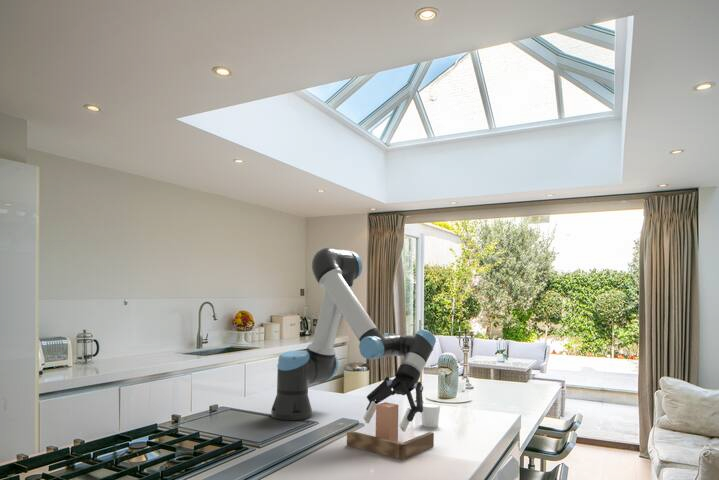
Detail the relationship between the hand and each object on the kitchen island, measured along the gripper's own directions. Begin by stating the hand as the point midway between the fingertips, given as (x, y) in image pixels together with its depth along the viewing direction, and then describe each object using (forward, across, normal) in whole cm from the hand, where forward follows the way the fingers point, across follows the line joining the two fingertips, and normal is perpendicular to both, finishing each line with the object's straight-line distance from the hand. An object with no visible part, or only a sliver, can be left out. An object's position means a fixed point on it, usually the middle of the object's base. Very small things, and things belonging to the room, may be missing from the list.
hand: (383, 425), depth 158 cm
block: (+3, 0, -6) cm, 7 cm away
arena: (+3, -1, -6) cm, 7 cm away
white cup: (-18, +2, -28) cm, 33 cm away
